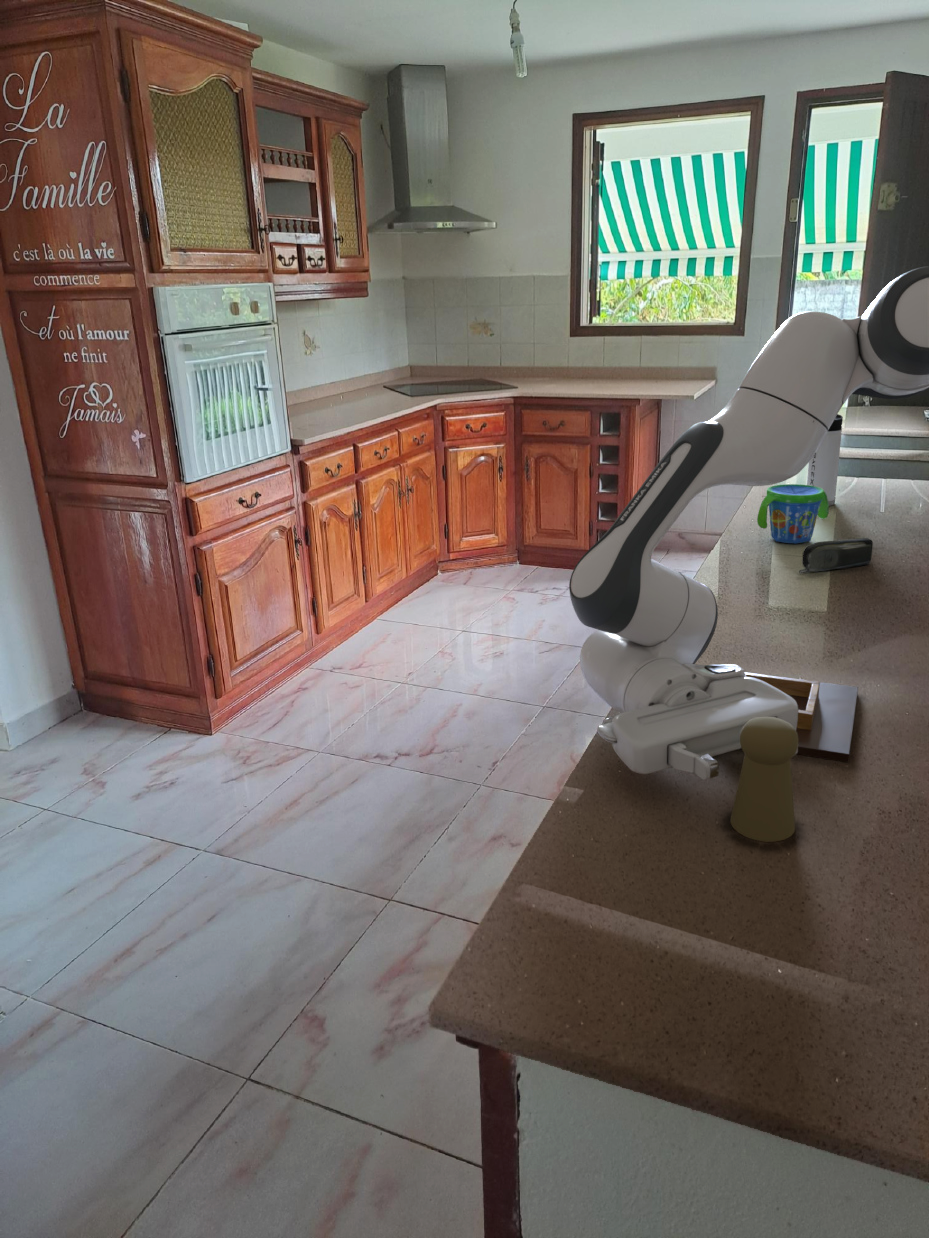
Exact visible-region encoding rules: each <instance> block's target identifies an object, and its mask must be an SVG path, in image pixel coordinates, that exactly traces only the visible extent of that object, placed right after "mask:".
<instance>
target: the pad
mask: <svg viewBox="0 0 929 1238" xmlns="http://www.w3.org/2000/svg"><path fill="white" fill-rule="evenodd" d="M745 677H753V678H756V679H759V680H762V681H764V682H766V683H768V684H770V685H772V686H774V687H775V688H777V689H779V690H781V691H782V692H784V693H786V694H787V695H789V696H790V697H792V698H793V699H794V700H795V701H796V702H797V705H798V722H797V729H796V732H797V735H798V752H797V754H796V755H801V756H808V757H813V758H820V759H826V760H833V761H838V762H844V763H849V761H850V753H851V746H852V740H853V739H852V738H853V731H854V723H855V716H856V709H857V701H858V693H859V686H854V685H845V684H838V683H830V682H822V681H817V680H811V679H801V678H793V677H787V676H778V675H771V674H762V673H754V672H747V671H745Z"/></svg>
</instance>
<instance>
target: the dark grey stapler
mask: <svg viewBox="0 0 929 1238" xmlns="http://www.w3.org/2000/svg"><path fill="white" fill-rule="evenodd" d="M873 543H874V542H873V540H872V539H871V538H868V537H862V538H861V537H859V538H848V539H846V538H845V539H838V540H824V541H823V540H822V541H816V542H814V543H812V544H809V545H807V546H805V548H804V549H803V552H802V567H803V569H799V571H798V572H799V574H800V575H801V574H809V573H814V572H824V571H832V570H838V569H848V568H855V567H856V568H857V567H863V566H867V565H869V564H870V563H871V561H872V557H873V556H872V554H873V547H874V544H873Z"/></svg>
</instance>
